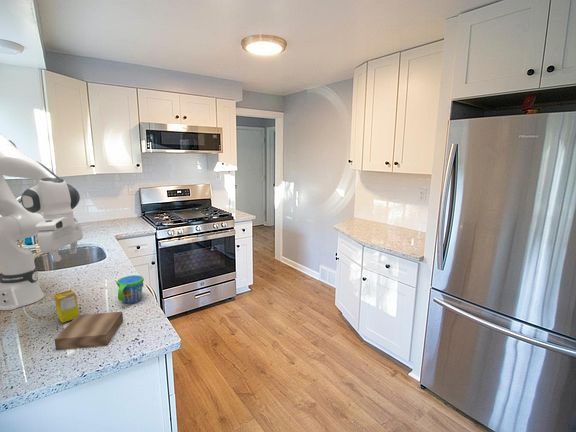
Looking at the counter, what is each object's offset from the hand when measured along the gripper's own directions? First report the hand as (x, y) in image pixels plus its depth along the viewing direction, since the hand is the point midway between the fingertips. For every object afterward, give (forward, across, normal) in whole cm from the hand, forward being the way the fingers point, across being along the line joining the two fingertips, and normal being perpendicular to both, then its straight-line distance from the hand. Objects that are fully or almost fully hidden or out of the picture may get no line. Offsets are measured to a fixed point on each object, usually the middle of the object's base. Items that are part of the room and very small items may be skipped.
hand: (66, 257), depth 116 cm
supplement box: (+27, -3, -5) cm, 27 cm away
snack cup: (+27, -17, +14) cm, 35 cm away
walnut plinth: (+28, +9, +10) cm, 31 cm away
